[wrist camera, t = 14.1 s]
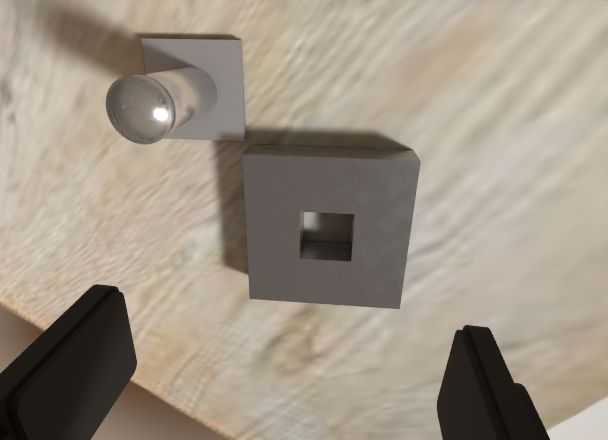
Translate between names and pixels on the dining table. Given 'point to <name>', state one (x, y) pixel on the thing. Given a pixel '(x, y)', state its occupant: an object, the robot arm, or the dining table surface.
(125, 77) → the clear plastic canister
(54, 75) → the dining table surface
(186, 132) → the mat
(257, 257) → the housing
